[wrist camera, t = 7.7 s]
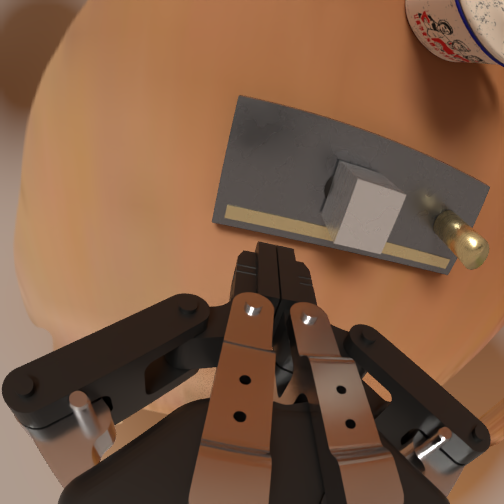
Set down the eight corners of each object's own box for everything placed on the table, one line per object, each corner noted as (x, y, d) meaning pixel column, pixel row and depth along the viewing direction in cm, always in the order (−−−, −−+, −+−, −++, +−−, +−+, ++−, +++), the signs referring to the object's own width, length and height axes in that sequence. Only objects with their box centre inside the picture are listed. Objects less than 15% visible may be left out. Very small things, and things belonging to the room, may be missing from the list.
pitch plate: (482, 182, 26) (525, 211, 19) (442, 267, 31) (473, 309, 25) (239, 94, 23) (233, 99, 16) (213, 215, 28) (201, 259, 22)
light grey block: (381, 173, 24) (406, 194, 20) (361, 225, 27) (380, 254, 22) (339, 160, 24) (357, 178, 19) (320, 214, 26) (333, 243, 22)
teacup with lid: (387, 27, 19) (467, 6, 9) (416, -39, 15) (489, -74, 5) (482, 99, 21) (567, 125, 11) (504, 35, 17) (585, 42, 7)
